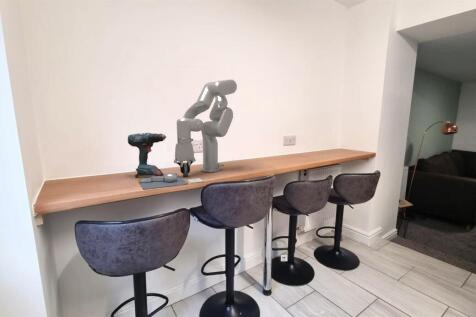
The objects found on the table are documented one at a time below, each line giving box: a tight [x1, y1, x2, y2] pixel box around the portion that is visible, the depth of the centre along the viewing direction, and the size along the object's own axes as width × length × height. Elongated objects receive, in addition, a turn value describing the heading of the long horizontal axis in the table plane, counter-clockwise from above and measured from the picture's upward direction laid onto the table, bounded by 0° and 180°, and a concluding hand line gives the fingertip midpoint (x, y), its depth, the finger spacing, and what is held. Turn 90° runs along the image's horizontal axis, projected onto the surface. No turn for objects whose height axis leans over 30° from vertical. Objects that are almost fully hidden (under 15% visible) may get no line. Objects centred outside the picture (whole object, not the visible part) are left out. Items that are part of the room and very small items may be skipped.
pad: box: [186, 177, 204, 184], centre depth 129 cm, size 7×7×1 cm
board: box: [137, 175, 190, 191], centre depth 126 cm, size 22×19×1 cm
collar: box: [138, 172, 178, 183], centre depth 126 cm, size 19×7×4 cm, turn 95°
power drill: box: [127, 132, 167, 179], centre depth 135 cm, size 9×23×25 cm, turn 78°
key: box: [182, 161, 189, 178], centre depth 138 cm, size 3×3×8 cm
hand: (185, 172), depth 138 cm, fingers closed on key, 2 cm apart
